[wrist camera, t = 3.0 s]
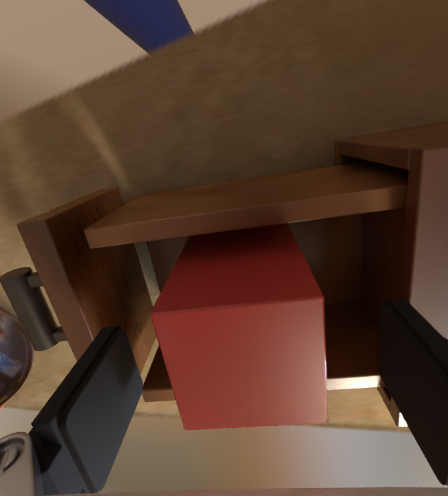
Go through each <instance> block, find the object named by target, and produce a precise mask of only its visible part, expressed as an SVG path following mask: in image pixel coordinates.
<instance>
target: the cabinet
mask: <svg viewBox="0 0 448 496" xmlns="http://www.w3.org/2000/svg"><path fill="white" fill-rule="evenodd" d="M364 161H371V162H376V163H380V164H384V165H388V166H393V167H397V168H401V169H405V170H409V177H408V190H407V202H406V215H405V228H404V240H403V253H402V266H401V279H400V291H399V300H403V299H404V300H407V301H408V302H409V303H410V304H411V305H412V306H413V307H414V308H415V309H416V310H417V311H418V312H419V313H420V314H421V315H422V316H423V317H424V318H425V319H426V320H427V321H428V322H429V323H430V324H431V325H432V326H433V327H434V328H435V329H436V330H437V331H438V332H439V333H440V334H441V335H442V336H443V337H444V338H447V339H448V122H447V123H440V124H434V125H428V126H422V127H415V128H409V129H403V130H397V131H390V132H384V133H378V134H372V135H365V136H359V137H353V138H347V139H341V140H336V141H335V166H337V165H344V164H350V163H357V162H364ZM377 389H378V391H379V393H380V395H381V397H382V399H383V401H384V403H385V405H386V406H387V408H388V410H389V412H390V414H391V416H392V418H393V420H394V422H395V424H396V426H397V427H405V426H408V425H407V424H406V422H405V420H404V418H403V416H402V415H401V413H400V411H399V409H398V407H397V406H396V404H395V402H394V400H393V399H392V397H391V395H390V393H389V391H388V390H387V388H386V387H377Z"/></svg>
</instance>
